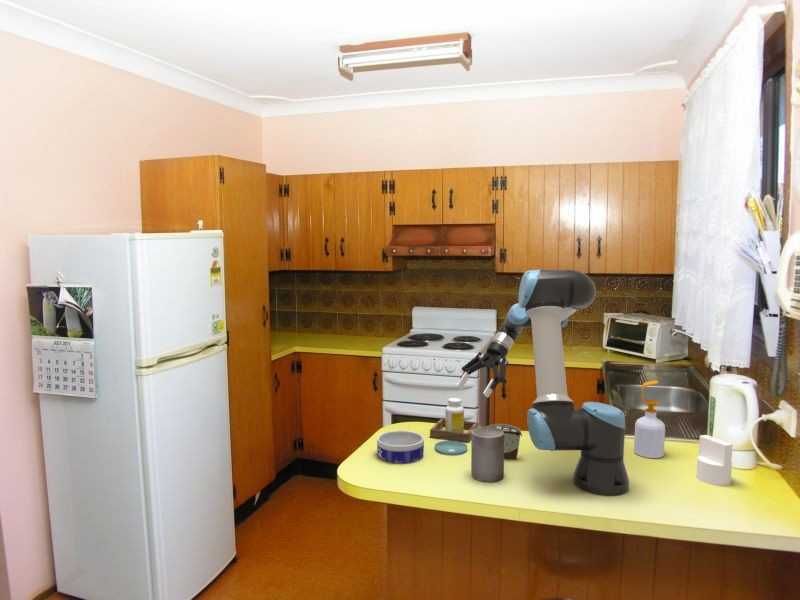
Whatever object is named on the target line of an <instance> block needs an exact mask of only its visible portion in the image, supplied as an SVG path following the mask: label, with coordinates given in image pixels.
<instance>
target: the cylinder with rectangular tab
mask: <svg viewBox="0 0 800 600" xmlns="http://www.w3.org/2000/svg"><path fill="white" fill-rule="evenodd" d="M732 457H733V443H730V442H728V441H725V440H722V439H719V438H716V437H714V436H711V435H708V434H702V435H699V442H698V456H697V460H696V461H697V462H696V476H695V477H696V479H698V481H699V482H702V483H704V484H708V485H712V486H719V487H721V486H722V487H724V486H725V487H726V486H729V485H731V483H732V472H733V471H732V468H733V466H732V465H733V461H732Z"/></svg>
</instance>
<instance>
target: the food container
mask: <svg viewBox="0 0 800 600" xmlns="http://www.w3.org/2000/svg"><path fill="white" fill-rule="evenodd" d="M487 426H488V427H496V428H499V429H501V430H503V432H504V461H517V460H518V454H519V449H520V447H519V445H520V439H521V437H523V434H522V431H521V428H519V427H517V426H515V425H512V424H505V423H494V424H490V425H489V424H488V425H487Z"/></svg>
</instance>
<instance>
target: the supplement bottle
mask: <svg viewBox="0 0 800 600" xmlns="http://www.w3.org/2000/svg"><path fill="white" fill-rule="evenodd" d="M447 403H448V405H447V406H446V407H445V411H444V413H445V418H444V419H445V427H444V428H445V429H444V431H452V432H460V433H465V430H464V421H465V418H464V417H465V416H464V415H465V409H464V406H462V399H461V398H457V397H451V398H448V401H447Z"/></svg>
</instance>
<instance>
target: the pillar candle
mask: <svg viewBox="0 0 800 600" xmlns="http://www.w3.org/2000/svg"><path fill="white" fill-rule="evenodd" d="M488 426H489V425H487V426H478V427H477V428H474V429H473V430H472V432H471V440H470V441H471V443H470V444H471V445H470V446H471V452H470V453H471V455H470V456H471V457H470V459H471V461H470V463H471V464H470V468H471V469H470V472H471V473H470V475H471V477H472V478H473V479H474V480H476V481H480V482H481V481H482V482H484V483H495V482H499V481H501V480H503V478H504V477H505V460H504V432H503V430H501V429H499V428H496V427H488Z"/></svg>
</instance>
